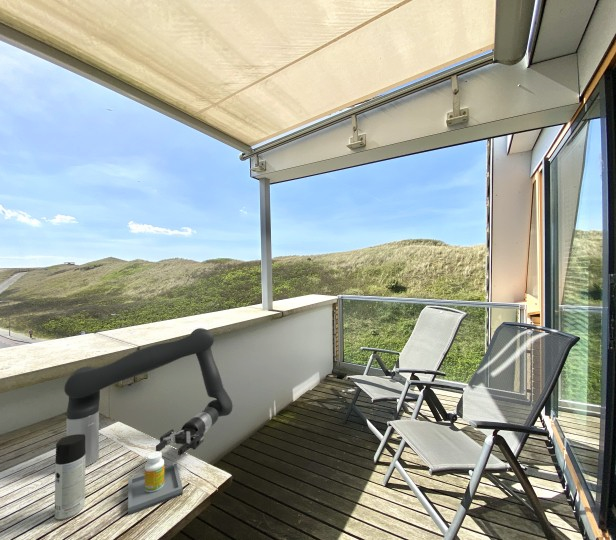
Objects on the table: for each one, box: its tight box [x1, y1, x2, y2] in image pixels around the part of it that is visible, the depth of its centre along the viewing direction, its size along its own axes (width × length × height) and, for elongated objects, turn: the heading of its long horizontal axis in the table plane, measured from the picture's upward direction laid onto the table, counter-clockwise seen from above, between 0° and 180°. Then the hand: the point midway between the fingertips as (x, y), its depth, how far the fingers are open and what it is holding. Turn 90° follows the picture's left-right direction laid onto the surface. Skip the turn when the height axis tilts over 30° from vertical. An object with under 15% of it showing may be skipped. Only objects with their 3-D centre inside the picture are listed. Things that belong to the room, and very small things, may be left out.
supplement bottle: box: [144, 450, 165, 492], centre depth 90 cm, size 5×5×10 cm
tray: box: [127, 463, 184, 516], centre depth 90 cm, size 14×14×2 cm
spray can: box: [53, 434, 86, 521], centre depth 82 cm, size 7×7×20 cm
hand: (167, 451), depth 95 cm, fingers open, 8 cm apart
